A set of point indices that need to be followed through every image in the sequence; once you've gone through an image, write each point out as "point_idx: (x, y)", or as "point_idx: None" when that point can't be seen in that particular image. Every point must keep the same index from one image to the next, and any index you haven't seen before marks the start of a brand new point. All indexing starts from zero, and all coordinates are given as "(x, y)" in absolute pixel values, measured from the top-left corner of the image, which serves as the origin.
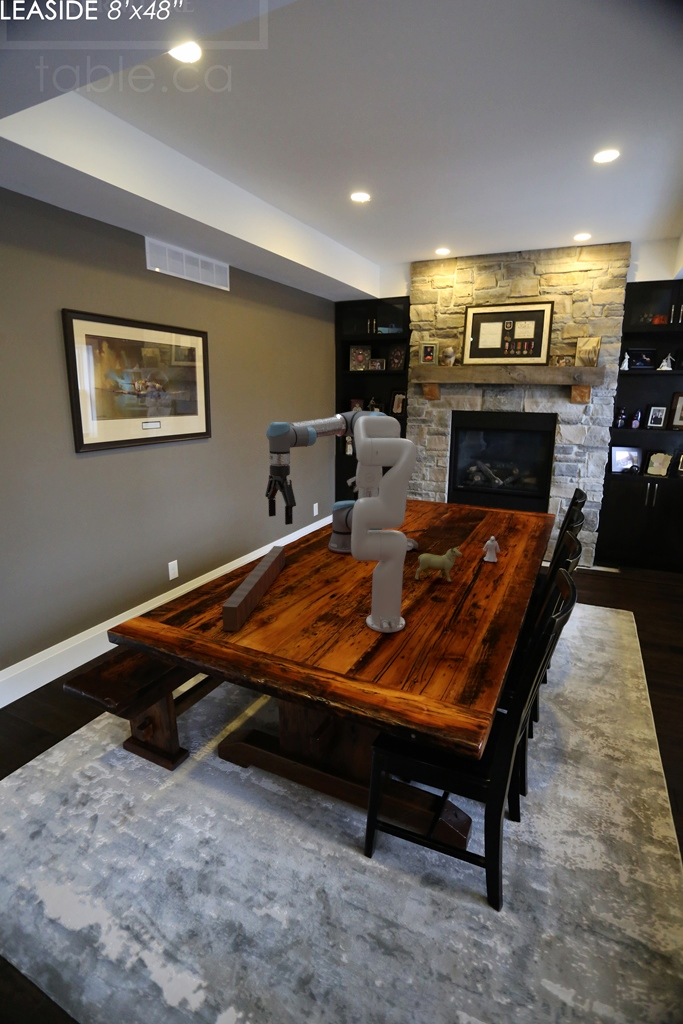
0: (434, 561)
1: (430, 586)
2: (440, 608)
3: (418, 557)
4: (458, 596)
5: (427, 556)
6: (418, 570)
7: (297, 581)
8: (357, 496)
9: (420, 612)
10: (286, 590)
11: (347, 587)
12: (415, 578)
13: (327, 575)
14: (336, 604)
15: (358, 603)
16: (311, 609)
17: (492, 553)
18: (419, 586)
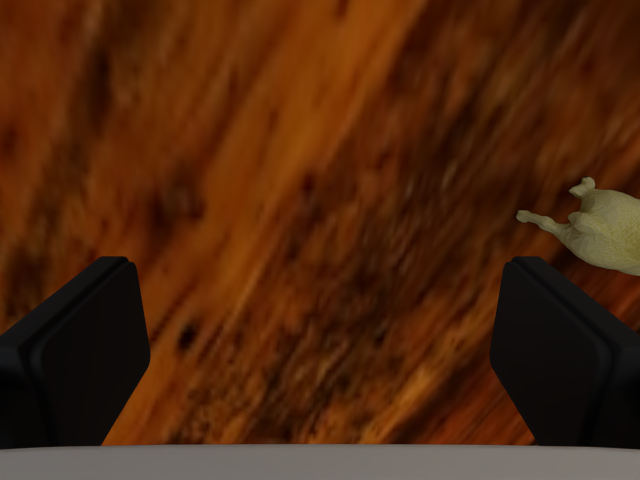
0: (635, 274)
1: None
2: (504, 422)
3: (582, 225)
4: None
5: (622, 265)
6: (544, 229)
7: (38, 212)
8: (110, 425)
9: (437, 441)
10: (19, 292)
11: (236, 273)
12: (516, 217)
13: (152, 149)
14: (200, 392)
15: (268, 388)
16: (129, 417)
17: None
18: None
